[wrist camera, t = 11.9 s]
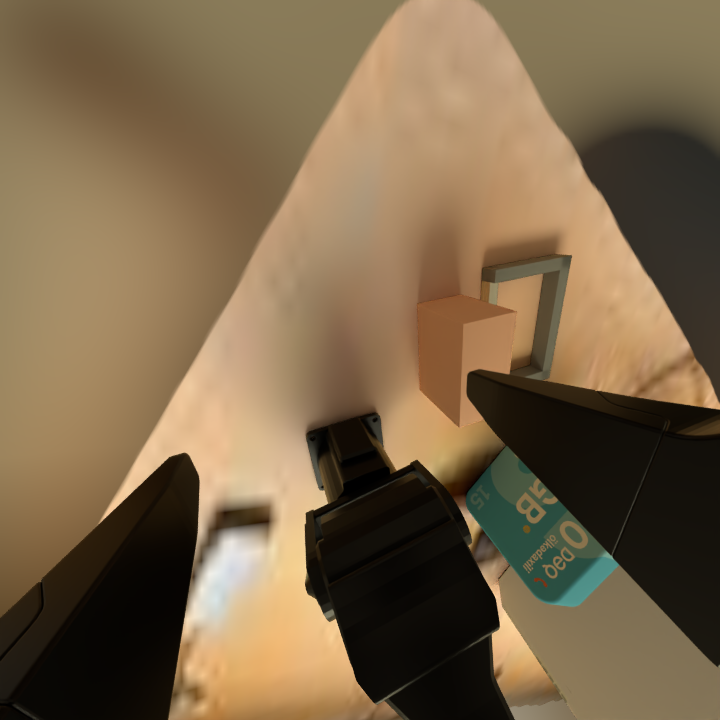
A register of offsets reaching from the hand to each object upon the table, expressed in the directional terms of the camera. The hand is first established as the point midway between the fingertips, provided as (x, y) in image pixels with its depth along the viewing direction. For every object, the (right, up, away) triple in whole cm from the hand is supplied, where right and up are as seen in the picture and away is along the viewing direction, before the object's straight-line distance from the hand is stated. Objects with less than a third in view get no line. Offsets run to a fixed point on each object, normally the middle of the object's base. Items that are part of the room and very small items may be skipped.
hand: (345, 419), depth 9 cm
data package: (+17, -11, +26) cm, 33 cm away
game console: (+30, -23, +36) cm, 52 cm away
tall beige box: (+7, +3, +16) cm, 18 cm away
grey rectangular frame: (+14, +5, +18) cm, 24 cm away
